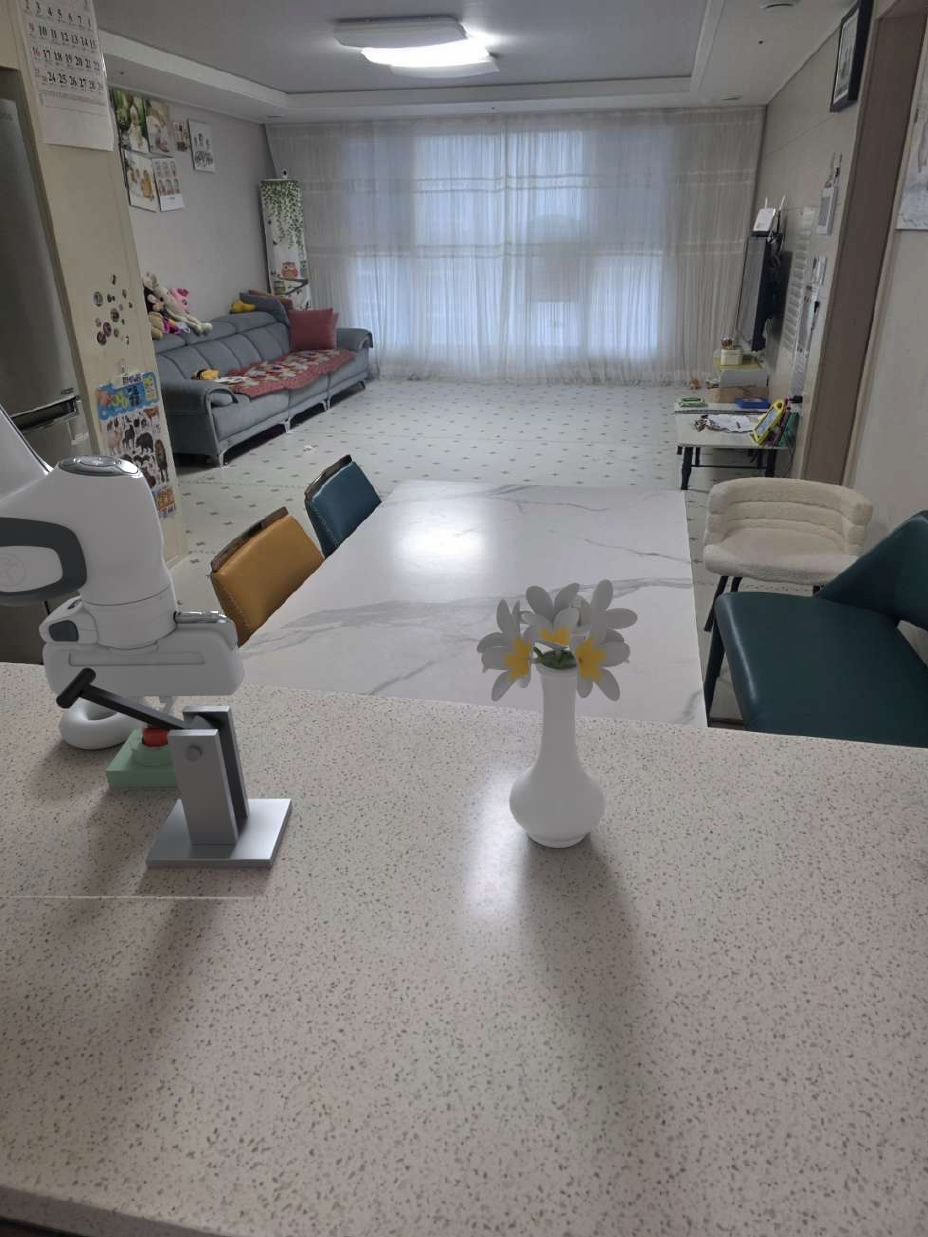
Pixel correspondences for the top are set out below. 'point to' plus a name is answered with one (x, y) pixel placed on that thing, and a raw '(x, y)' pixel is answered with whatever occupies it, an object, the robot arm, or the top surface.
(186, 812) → the bracket
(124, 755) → the button box
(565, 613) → the flower vase
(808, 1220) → the top surface
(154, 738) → the button
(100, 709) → the donut
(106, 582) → the robot arm
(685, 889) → the top surface
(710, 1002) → the top surface
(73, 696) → the lever
